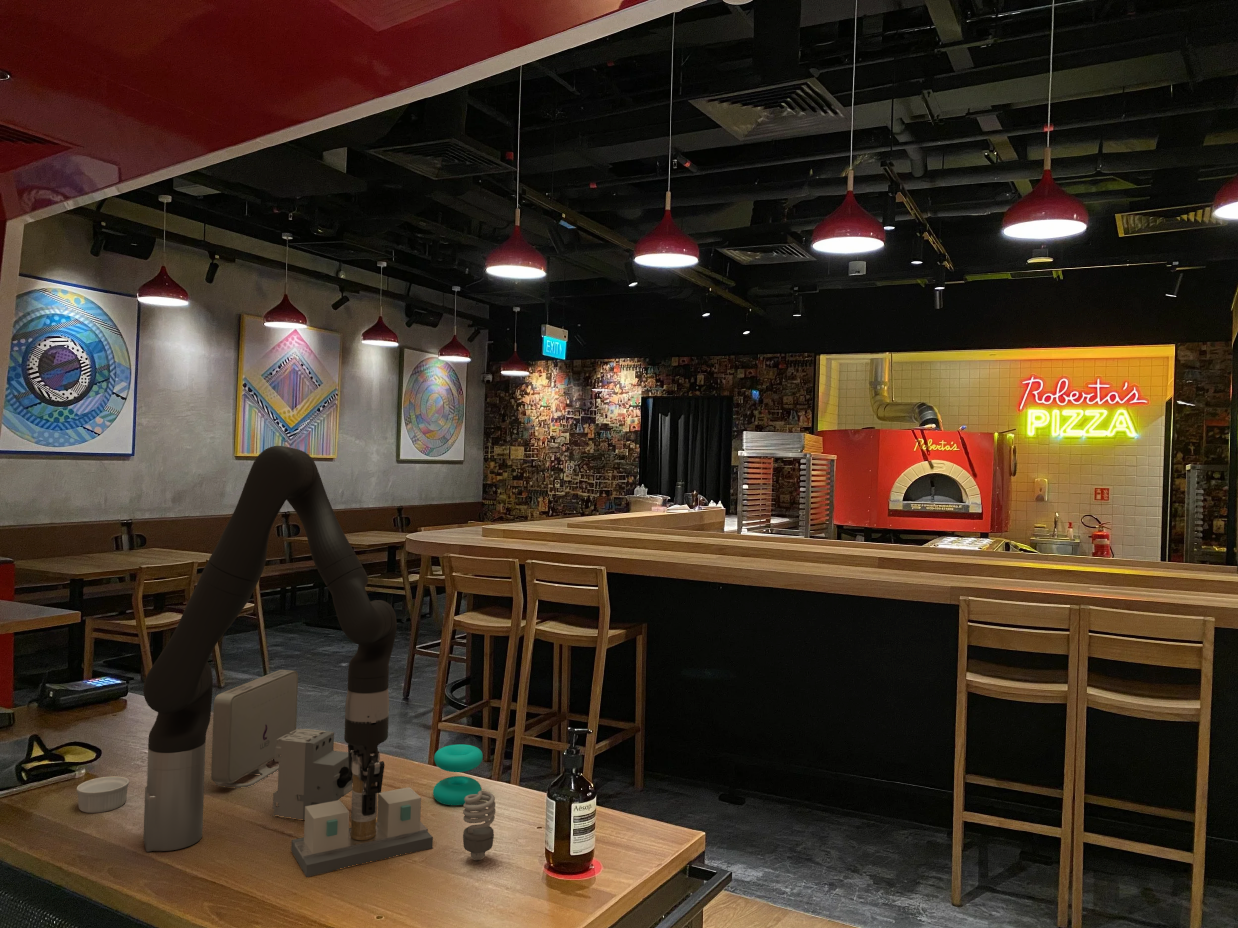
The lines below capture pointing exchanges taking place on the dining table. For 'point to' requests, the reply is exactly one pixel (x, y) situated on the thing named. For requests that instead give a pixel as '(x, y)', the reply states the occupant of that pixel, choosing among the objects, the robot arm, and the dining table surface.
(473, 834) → the light bulb
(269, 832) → the dining table surface
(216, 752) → the network device
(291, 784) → the circuit breaker
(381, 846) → the mounting board
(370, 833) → the sprinkles bottle
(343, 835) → the mounted modules
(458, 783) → the donuts
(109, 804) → the ramekin
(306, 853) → the din rail
